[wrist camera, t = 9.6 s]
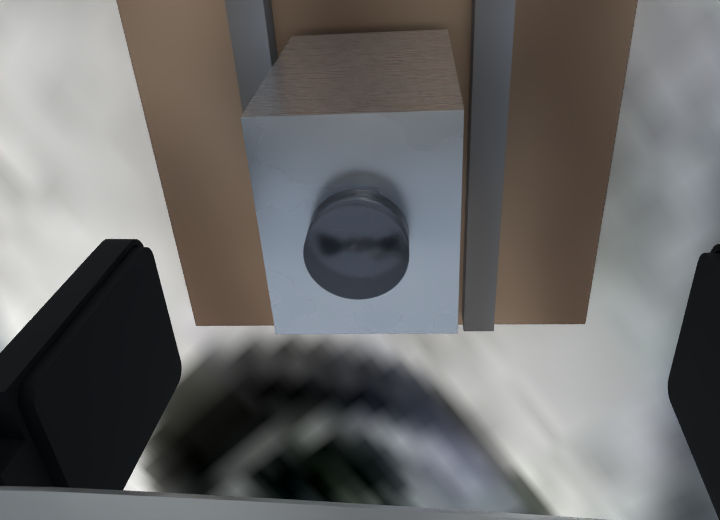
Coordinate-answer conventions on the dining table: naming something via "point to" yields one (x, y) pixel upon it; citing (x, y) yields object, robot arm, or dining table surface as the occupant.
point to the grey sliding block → (359, 183)
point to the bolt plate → (480, 138)
